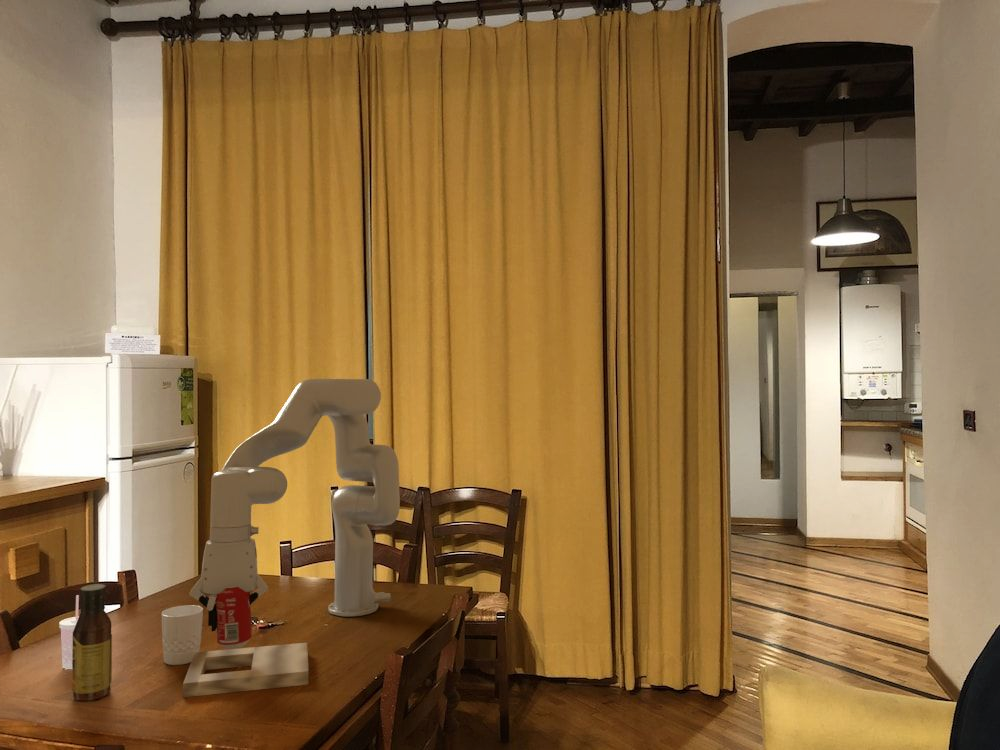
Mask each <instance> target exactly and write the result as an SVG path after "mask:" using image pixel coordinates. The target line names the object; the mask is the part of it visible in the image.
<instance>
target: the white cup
mask: <svg viewBox="0 0 1000 750" xmlns="http://www.w3.org/2000/svg"><path fill="white" fill-rule="evenodd" d="M203 615H204V608H203V607H202V606H200V605H197V604H196V605H194V604H193V605H191V604H189V605H188V604H186V605H177V606H173V607H169V608H166V609H164V610H162V611H161V639H162V641H161V643H162V649H163V651H162V652H163V662H164V663H165V664H166V665H171V666H178V665H179V666H181V665H186V664H191V661H192V659H193V656H194V653H195V652H200V651H201V650H200V648H201V641H202V631H203V617H204V616H203Z"/></svg>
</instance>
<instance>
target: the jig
mask: <svg viewBox="0 0 1000 750" xmlns="http://www.w3.org/2000/svg"><path fill="white" fill-rule="evenodd" d="M308 654H309V653H308V642H300V643H299V642H296V643H287V644H286V643H285V644H277V645H265V646H262V645H261V646H254V647H253V646H252V647H242V648H241V647H239V648H234V649H217V650H207V651H199V652H195V653H194V656H193V659H192V661H191V662H190V663H189V666H188V670H187V672H186V675H185V678H184V680H183V682H182V698H191V697H200V696H210V695H218V694H219V695H220V694H228V693H239V692H247V691H249V692H250V691H257V690H258V691H259V690H267V689H277V688H288V687H297V686H306V685H308V686H309V655H308ZM243 667H244V668H245V667H251V669H247V670H244V669H243V670H236V671H234V670H233V671H224V672H217V673H216V672H215V673H206V671H209V670H219V669H230V668H231V669H232V668H243Z"/></svg>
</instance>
